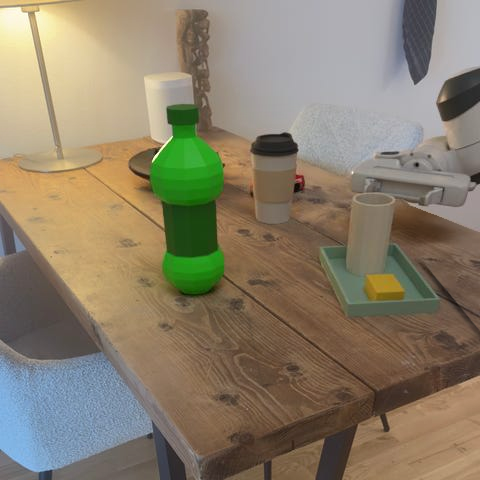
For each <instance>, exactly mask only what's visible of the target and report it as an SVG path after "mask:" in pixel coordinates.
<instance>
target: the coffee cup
mask: <svg viewBox="0 0 480 480" xmlns="http://www.w3.org/2000/svg"><path fill="white" fill-rule="evenodd" d="M249 152H250V155H251V165H250V166H251V168H250V169H251V178H252V183H253V193H254V194H253V198H254V208H255V209H254V210H255V220H256V221H258V222H259V223H262V224H268V225H281V224H285V223H287V222H289V221H290V220H291V213H292V205H293V203H292V202H293V198H294V193H295V192H294V184H295V176H296V173H297V168H298V167H297V166H298V165H297V159H298V152H299V144H298V143H297V142H296V141H294V138H293V135H292V133H289V132H286V131H284V132H281V133H266V134H261V135H258V136H257V137H255V140H254V141H253V142H252V143H251V145H250V150H249Z"/></svg>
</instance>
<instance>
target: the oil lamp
mask: <svg viewBox="0 0 480 480" xmlns="http://www.w3.org/2000/svg"><path fill="white" fill-rule="evenodd" d="M163 146H164V145H162V146H158V147H151V148H147V149H145V150H142V151H139V152H137V153H135V154H133V155H131V157H130V158H129V159H128V161H127V166H128V169H129V170H130V172H132V173H133V174H134V175H135V176H137V177H140V178H142V179H143V180H146V181H149V182H150V169H151V165H152V161H153V158H154V156H155V155H156V154H157V153H158V152H159V150H160V149H161V148H162V147H163ZM214 151H215V152H216V153H217V154H218V155H219V156H220V153H219V152H218V151H216V150H214ZM222 163H223V162H222ZM225 166H226V163H225V162H224V163H223V169H224V168H225Z"/></svg>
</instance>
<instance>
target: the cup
mask: <svg viewBox="0 0 480 480" xmlns="http://www.w3.org/2000/svg"><path fill="white" fill-rule="evenodd" d="M396 201H397V198H394V197H393V196H390V195H387V194H383V193H356V195H354V196H353V197H352V199H351V207H350V208H351V209H350V219H349V227H348V236H347V245H348V246H347V256H346V270H347V271H348V272H349V273H351V274H353V275H357V276H362V277H366V275H378V274H383V273H384V271H385V267H386V262H387V255H388V248H389V243H391V242H390V241H391V234H392V228H393V220H394V214H395V207H396V203H397V202H396Z"/></svg>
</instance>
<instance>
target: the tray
mask: <svg viewBox="0 0 480 480" xmlns="http://www.w3.org/2000/svg"><path fill="white" fill-rule="evenodd" d="M347 246H348V244H347V245H329V246H319V251H318V260H319V262H320V265H321V267H322V268H323V270H324V272H325V274H326V277H327V279H328V281H329V284H330V285H331V288H332V289H333V292H334V294H335V296H336V298H337V300H338V302H339V304H340V306H341V309H342V310H343V313H344V315H345V318H363V317H383V316H399V315H400V316H401V315H402V316H403V315H419V314H434V313H435V314H436V313H437V314H438V311H439V308H440V303H441V298H440V297H439V296H438V293H436V292H435V290H434V289H433V287H431V285H430V283H428V281H427V280H426V279H425V278H424V277H423V275H422V274H421V272H419V270H418V268H416V266H415V265H414V264H413V263H412V262H413V261H411V260H410V259H409V257H408V256H407V255H406V254H405V252H404V251H403V250H402V248H401V247H400V246H399V245H398V243H397V242H389V248H388V255H387V262H386V267H385V271H384V273H383V274H393V275H394V276H395V278H396V279H397V281H398V282H399V284H400V285H401V286H402V288H403V289H404V291H405V294H404V299H403V300H389V301H370V299H369V298H368V296H367V294H366V292H365V291H364V290H365V282H366V277H362V276H357V275H353V274H351V273H349V272H348V271H347V270H346V256H347Z"/></svg>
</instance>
